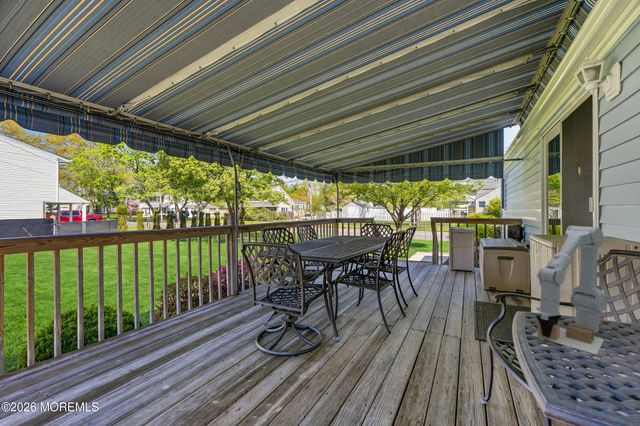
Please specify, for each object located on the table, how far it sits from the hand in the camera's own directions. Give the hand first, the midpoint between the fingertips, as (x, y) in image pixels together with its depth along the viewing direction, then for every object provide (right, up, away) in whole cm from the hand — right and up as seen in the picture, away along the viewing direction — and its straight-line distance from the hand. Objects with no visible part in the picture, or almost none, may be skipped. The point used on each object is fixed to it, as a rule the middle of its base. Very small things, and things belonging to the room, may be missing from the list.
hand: (548, 334), depth 110 cm
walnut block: (+11, -1, -1) cm, 11 cm away
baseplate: (+7, -2, -1) cm, 7 cm away
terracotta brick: (0, -1, 0) cm, 1 cm away
